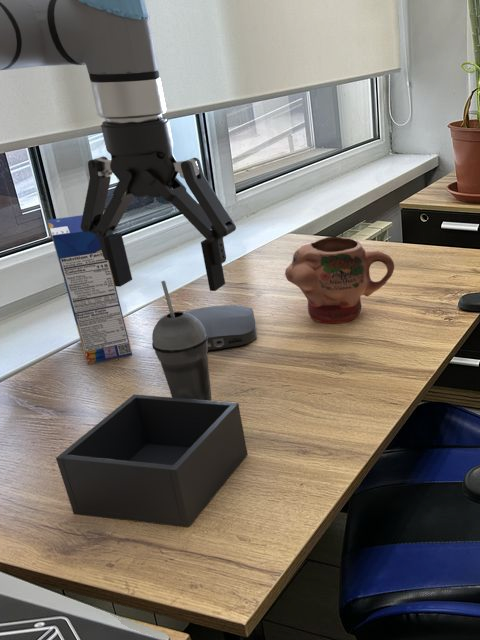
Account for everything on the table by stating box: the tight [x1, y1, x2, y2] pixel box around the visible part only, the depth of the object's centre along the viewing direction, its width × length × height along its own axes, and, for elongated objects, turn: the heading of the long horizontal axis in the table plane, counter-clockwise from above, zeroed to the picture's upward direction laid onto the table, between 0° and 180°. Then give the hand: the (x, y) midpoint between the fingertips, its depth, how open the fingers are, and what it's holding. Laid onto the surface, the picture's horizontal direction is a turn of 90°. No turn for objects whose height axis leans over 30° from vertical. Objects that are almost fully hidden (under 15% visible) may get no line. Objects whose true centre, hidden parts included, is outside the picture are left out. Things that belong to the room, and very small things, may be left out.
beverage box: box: [46, 214, 133, 365], centre depth 118 cm, size 7×11×22 cm, turn 32°
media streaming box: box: [184, 304, 257, 351], centre depth 126 cm, size 15×15×3 cm
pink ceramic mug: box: [284, 235, 395, 324], centre depth 132 cm, size 20×12×14 cm, turn 103°
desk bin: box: [55, 394, 248, 528], centre depth 85 cm, size 15×15×8 cm
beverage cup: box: [151, 280, 213, 401], centre depth 98 cm, size 7×7×20 cm
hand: (170, 285), depth 93 cm, fingers open, 13 cm apart
